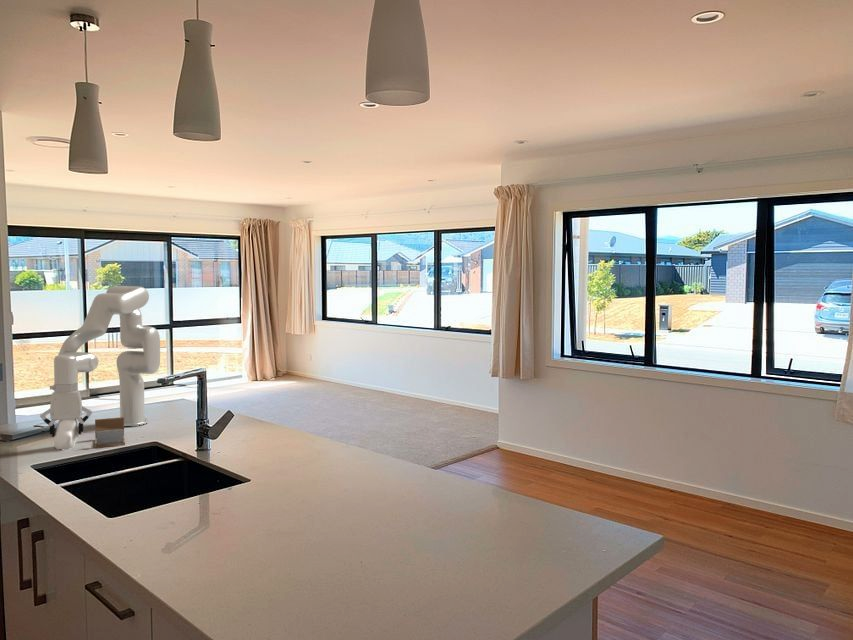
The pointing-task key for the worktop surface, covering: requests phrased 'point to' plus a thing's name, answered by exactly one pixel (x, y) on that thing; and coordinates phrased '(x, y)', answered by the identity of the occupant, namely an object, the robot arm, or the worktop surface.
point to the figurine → (66, 434)
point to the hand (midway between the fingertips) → (66, 434)
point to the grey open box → (109, 428)
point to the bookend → (109, 436)
